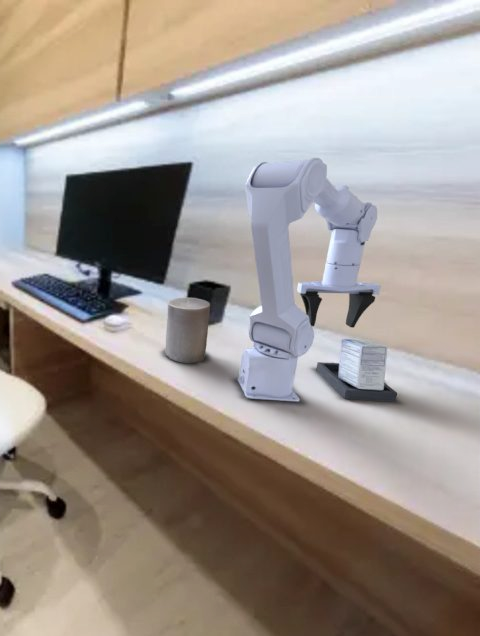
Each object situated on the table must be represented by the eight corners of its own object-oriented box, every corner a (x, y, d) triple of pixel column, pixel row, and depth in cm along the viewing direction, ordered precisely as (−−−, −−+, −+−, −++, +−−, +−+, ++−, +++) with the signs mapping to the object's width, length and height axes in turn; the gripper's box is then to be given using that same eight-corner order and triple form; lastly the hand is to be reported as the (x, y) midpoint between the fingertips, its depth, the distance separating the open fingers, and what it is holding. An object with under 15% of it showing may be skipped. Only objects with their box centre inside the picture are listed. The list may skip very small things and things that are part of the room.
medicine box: (384, 391, 72) (389, 346, 71) (356, 389, 73) (361, 344, 72) (361, 380, 80) (365, 339, 79) (337, 378, 81) (341, 338, 80)
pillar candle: (208, 351, 97) (214, 294, 92) (201, 366, 89) (206, 305, 84) (170, 345, 102) (173, 290, 97) (159, 359, 94) (162, 300, 89)
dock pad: (344, 398, 74) (346, 390, 73) (315, 369, 85) (317, 362, 85) (395, 401, 72) (397, 393, 71) (359, 371, 84) (361, 364, 83)
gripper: (372, 259, 80) (358, 320, 85) (296, 259, 83) (286, 318, 88) (392, 266, 74) (376, 331, 78) (309, 265, 77) (298, 329, 81)
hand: (329, 325), depth 82 cm, fingers open, 7 cm apart
